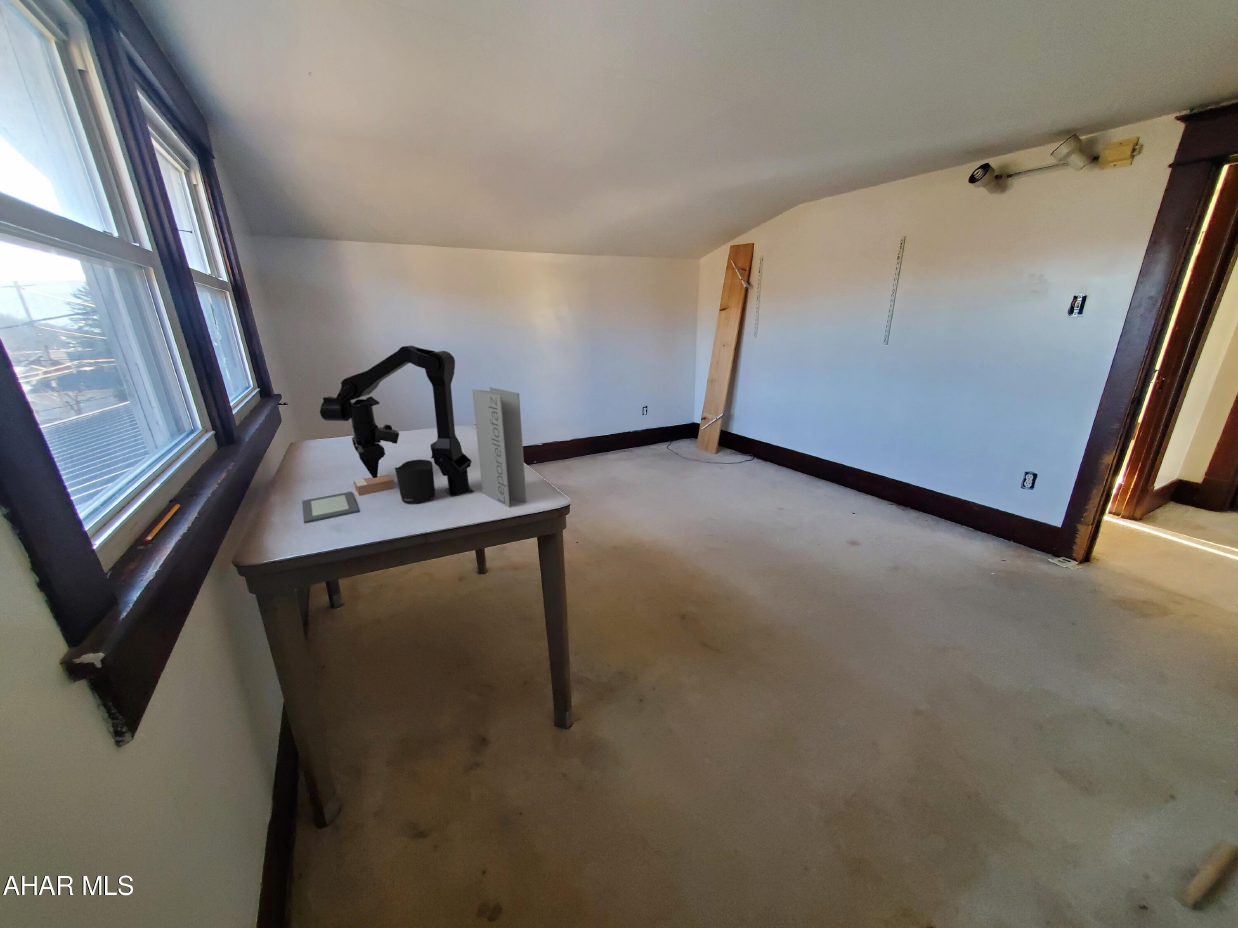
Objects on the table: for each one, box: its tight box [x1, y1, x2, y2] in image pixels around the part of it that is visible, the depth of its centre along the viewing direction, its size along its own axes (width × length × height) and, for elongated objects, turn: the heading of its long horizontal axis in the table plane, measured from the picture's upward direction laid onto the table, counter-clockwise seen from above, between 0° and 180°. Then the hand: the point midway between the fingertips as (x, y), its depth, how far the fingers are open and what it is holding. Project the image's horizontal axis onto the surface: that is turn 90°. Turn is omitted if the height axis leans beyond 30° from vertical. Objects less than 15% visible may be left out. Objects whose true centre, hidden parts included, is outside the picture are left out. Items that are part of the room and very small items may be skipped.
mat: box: [301, 491, 360, 524], centre depth 123 cm, size 16×12×1 cm
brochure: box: [472, 386, 527, 508], centre depth 125 cm, size 14×6×30 cm, turn 45°
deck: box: [353, 474, 396, 497], centre depth 135 cm, size 10×6×3 cm, turn 128°
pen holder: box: [394, 459, 436, 505], centre depth 127 cm, size 9×9×10 cm
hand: (372, 473), depth 134 cm, fingers open, 9 cm apart
